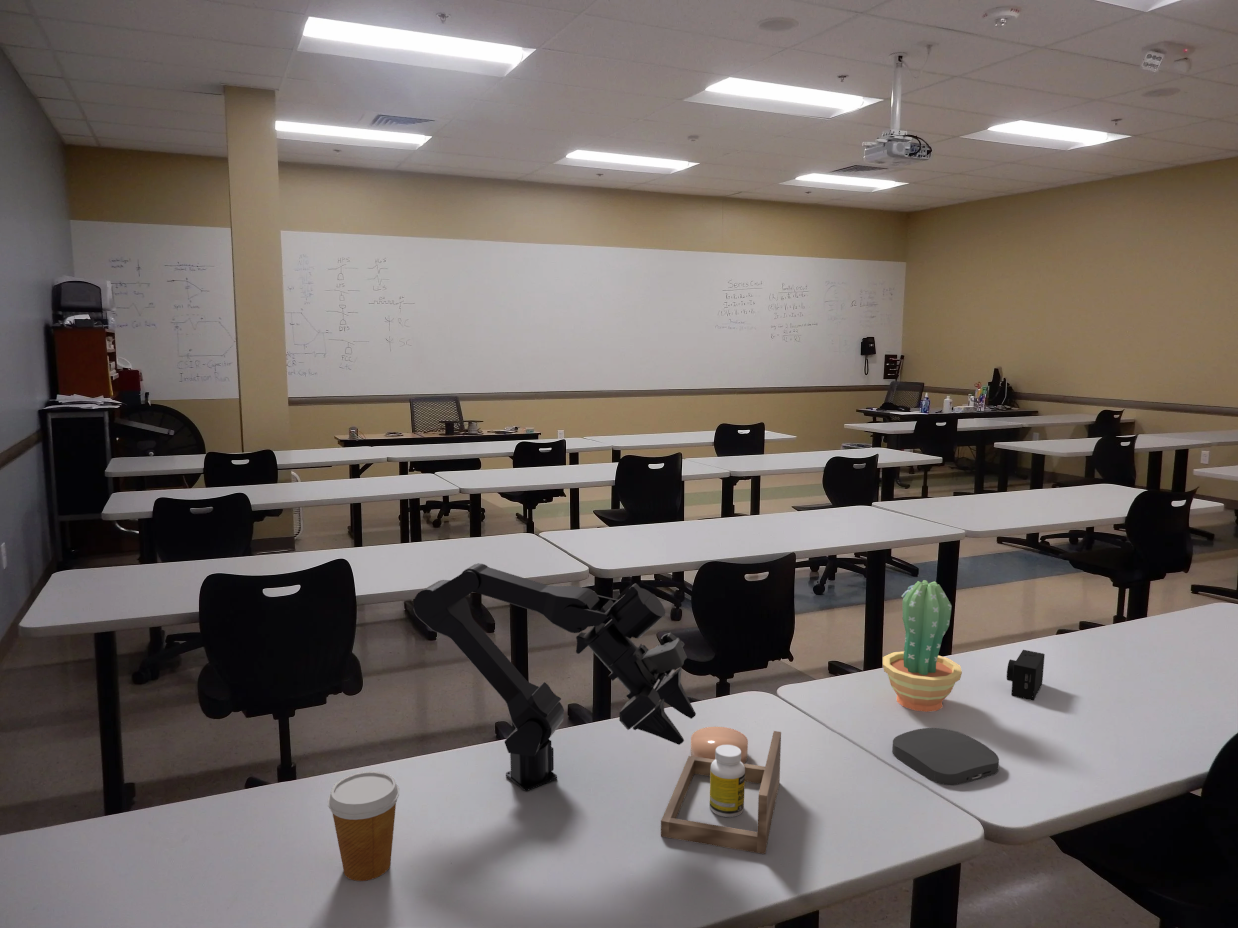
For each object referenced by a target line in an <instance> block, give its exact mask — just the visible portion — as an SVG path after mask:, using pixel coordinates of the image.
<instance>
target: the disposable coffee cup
mask: <svg viewBox="0 0 1238 928" xmlns="http://www.w3.org/2000/svg"><path fill="white" fill-rule="evenodd" d="M399 796H400V787H399V786H398V784H397V782H396V779H395V777H394V776H392V775H391V774H388V773H387V772H386V773H385V772H382V771H373V770H371V771H362V772H357V773H354V774H353V773H352V774H350V775H348V776H345V777H343V778H341V779H340V780H337V782H336V783H335V784H333V786H332V788H331V791H330V794H329V796H328V798H327V807H328V808H329V810H330V812H331V813H332V818H333V824H334V829H335V834H336V837H337V842H338V850H339V853H340V859H341V862H342V863H341V864H342V871H343V874H344V876H345V877H346V878H348V879H349V880H352V881H357V882H359V881H360V882H361V881H362V882H363V881H365V882H366V881H370V880H374V879H377V878H379V877H380V876H382V875H384V874H385V873H386V872H387V871H388V870H389V869H390V866H391V864H392V862H391V860H392V852H393V851H392V850H393V849H392V848H393V840H394V829H395V828H394V827H395V820H396V819H395V818H396V806H397V801H398V799H399Z"/></svg>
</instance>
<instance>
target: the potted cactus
mask: <svg viewBox="0 0 1238 928" xmlns="http://www.w3.org/2000/svg"><path fill="white" fill-rule="evenodd" d="M901 597H902V598H903V599H902V622H903V623H902V624H903V626H904V631H905V636H904V647H903V649H904V650H903V651H894V652H890V653H889V654H887V655H885V656H882V667H883V672H885V673H886V674H887V676H888V677H887V678H888V680H889V684H890V686H891V688H892V690H893V691H894V692H895V693H896V702H897V703H898V704H899V705H901V706H902V707H904V708H907V709H909V710H912V711H917V712H925V713H926V712H927V713H928V712H929V713H930V712H937V711H939V710H940V709H943V701H944V700H945V699H946V698H947V697H948V696H949V695H950V694H951V693H952V690H953V688H954V686H955V685H956V683H957V682H958V681H961V677H962V671H963V670H962V667H961V665H960V664H958V663H957V662H955V661H953V660H952V659H950V658H948V657H944V656H941V655H939V652H940V650H941V645H942V641H943V637H944V635H945V634H946V632H947V631H948V629H949V627H950V620H951V615H952V607H953V606H952V603H951V601H949V598H948V597H947V595H946V593H945V591H944V590H943V588H942V587H941V585H940V584H938V582H936V581H932V582H929V581H928V580H926V579H923V580H922V582H921V581H919V580H917V582H916V583H915V584H912V585H909V586H908V587H907V590H905V591H904V593H903V594H901Z"/></svg>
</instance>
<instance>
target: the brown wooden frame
mask: <svg viewBox="0 0 1238 928" xmlns="http://www.w3.org/2000/svg"><path fill="white" fill-rule="evenodd" d="M781 746H782V731H777V730H773V733H772V738H771V740H770V746H769V750H768V754H767V758H766V763H765V766H764V765H756V764H750V763H745V764H743V765H744V767H745V782H748V783H754V784H760V787H759V791H758V798H757V799H758V801H757V806H758V807H757V831H752V830H747V829H741V828H734V827H729V826H725V825H724V826H723V825H719V824H718V825H716V824H710V823H707V822H706V823H705V822H701V821H700V822H698V821H694V820H688V819H687V820H685V819H680V818H678V815H679V813H680V811H681V808H682V805H683V803H684V801H685V797H686V796H687V793H688V790H689V789H690V785H691V783H692V781H693V778H694V776H695V775H700V776H705V777H706V776H707V777H710V770H711V764H712V762H713V761H714V760H715V759H708V758H701V757H694V756H691V755H688V757H687V759H686V762H685V764H684V766H683V769H682V771H681V773H680V776H679V778H678V781H677V783H676V785H675V787H674V790H673V792H672V794H671V797H670V799H669V801H668V803H667V806H666V808H665V811H664V813H663V815H662V818H661V820H660V837H661V838H668V839H673V840H679V841H686V842H692V843H695V844H696V843H697V844H704V845H709V846H715V847H720V848H726V849H732V850H737V851H743V852H751V853H756V854H762V855H766V852H767V847H768V844H769V843H768V842H769V837H770V832H771V828H772V823H773V818H774V813H775V807H776V802H777V797H778V794H779V793H778V792H779V787H780V778H781V777H780V776H781V753H782V752H781V749H782V747H781Z"/></svg>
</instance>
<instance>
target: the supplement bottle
mask: <svg viewBox="0 0 1238 928" xmlns="http://www.w3.org/2000/svg"><path fill="white" fill-rule="evenodd" d="M745 782H746V781H745V767H744V765H743V763H742V762H741V750H740V749H739V748H738V747H736V746H733V745H721V746H718V747H717V748H716V752H715V760H714V761H713V762H712V764H711V770H710V776H709V802H708V803H709V809H710V811H711V812H712V813H714V814H715V815H716V816H720V817H725V818H733V817H737V816H740V814H742V813H743V812H744V810H745V809H744V808H745V789H746V788H745V786H746V785H745V784H746V783H745Z"/></svg>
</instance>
